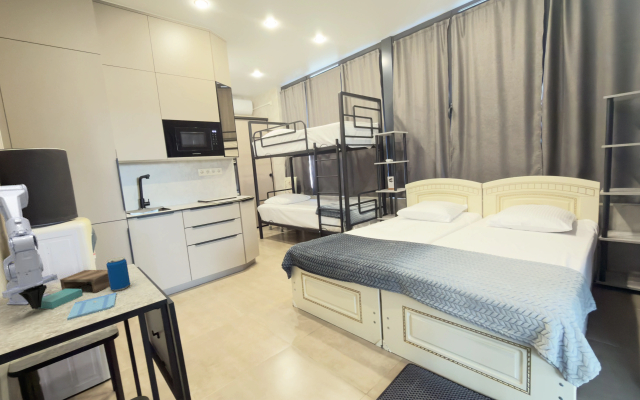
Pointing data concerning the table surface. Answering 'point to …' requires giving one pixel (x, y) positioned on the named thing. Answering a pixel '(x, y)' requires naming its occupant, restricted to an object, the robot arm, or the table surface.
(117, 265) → the beverage can
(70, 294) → the teal slab tile
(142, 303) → the table surface
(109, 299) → the light blue flat pad
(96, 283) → the wooden box
